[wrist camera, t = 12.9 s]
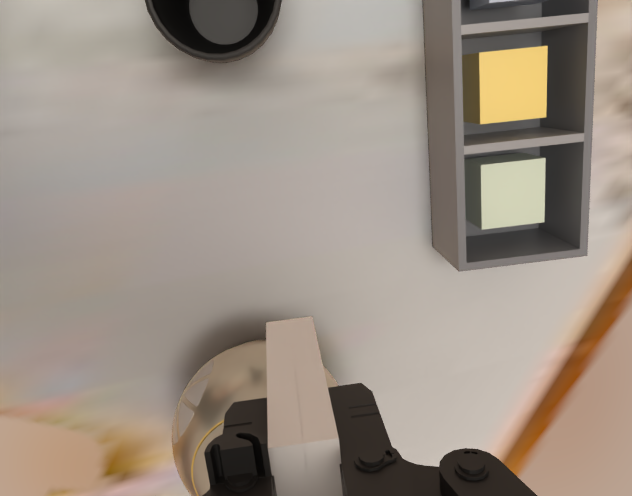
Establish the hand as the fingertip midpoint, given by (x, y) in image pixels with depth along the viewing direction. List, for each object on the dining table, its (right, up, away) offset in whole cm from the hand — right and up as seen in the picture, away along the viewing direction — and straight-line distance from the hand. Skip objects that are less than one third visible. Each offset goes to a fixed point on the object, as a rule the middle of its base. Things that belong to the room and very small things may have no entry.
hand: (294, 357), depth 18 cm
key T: (+15, +16, +26) cm, 34 cm away
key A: (+15, +9, +28) cm, 33 cm away
